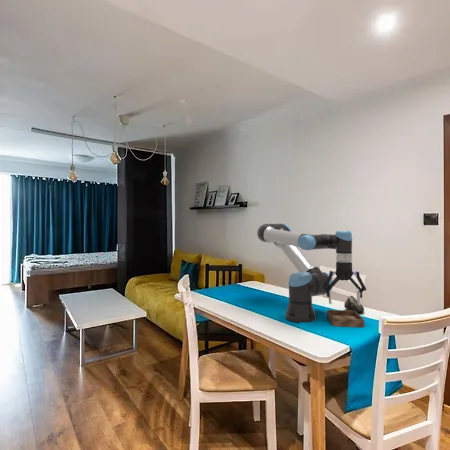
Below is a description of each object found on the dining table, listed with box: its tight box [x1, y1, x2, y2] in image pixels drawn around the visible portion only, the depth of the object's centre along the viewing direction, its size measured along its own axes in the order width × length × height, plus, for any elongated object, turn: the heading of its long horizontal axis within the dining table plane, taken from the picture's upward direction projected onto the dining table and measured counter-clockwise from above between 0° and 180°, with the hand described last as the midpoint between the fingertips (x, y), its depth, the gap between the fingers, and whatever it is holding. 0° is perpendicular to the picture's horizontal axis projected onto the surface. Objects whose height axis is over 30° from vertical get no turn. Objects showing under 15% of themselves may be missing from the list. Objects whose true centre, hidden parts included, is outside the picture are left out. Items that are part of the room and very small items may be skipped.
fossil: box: [343, 295, 365, 313], centre depth 165 cm, size 11×9×10 cm
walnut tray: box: [326, 309, 365, 328], centre depth 148 cm, size 14×15×4 cm
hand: (344, 304), depth 148 cm, fingers open, 13 cm apart
